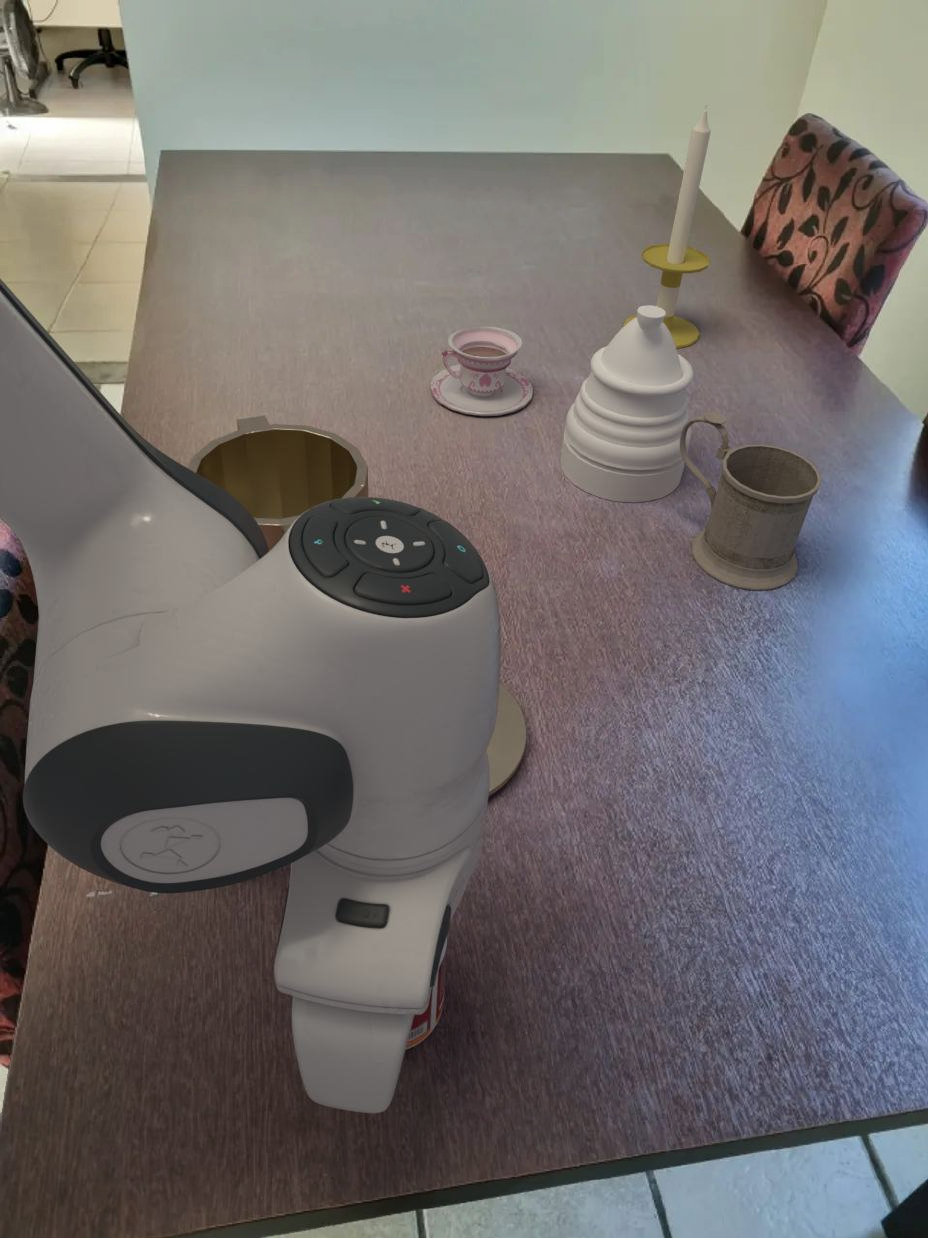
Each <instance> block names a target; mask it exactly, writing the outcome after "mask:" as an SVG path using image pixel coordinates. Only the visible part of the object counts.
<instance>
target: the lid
mask: <svg viewBox="0 0 928 1238" xmlns="http://www.w3.org/2000/svg"><path fill="white" fill-rule="evenodd" d="M526 745H527V724H526V720H525V716H524V713H523V710H522V709H521V706H520V704H519V702H518V701H517V699H516V698H515V696H514V695H513V694H512V692H511V691H510V690H509V689H508V688H507V686H505V685H504V684H503V683H501V682H500V687H499V699H498V711H497V720H496V725H495V730H494V733H493V736H492V738H491V741H490V743H489V746H488V747H487V749H486V751H487V754H488V759H489V765H490V786H489V794H488V798H489V797H490V796H491V795H493V794H495V793H496V792H497V791H499V790H500V789H501V788H503V787H504V785H505V784H507V783H508V782H509V780H511V778H512V777H513V776H514V775H515V773H516V771H517V770H518V768H519V766H520V765H521V762H522V760H523V758H524V754H525V750H526Z"/></svg>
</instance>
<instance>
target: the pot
mask: <svg viewBox="0 0 928 1238" xmlns="http://www.w3.org/2000/svg"><path fill="white" fill-rule="evenodd" d="M236 427H237V430H235V431H233V432H230V433H228V434H225V435H222V436H220V437H218V438H215V439H212V440H211V441H210V442H208V443H207V444H206V445H204V446H203V447H202V448H201V449H200V450H198V451H197V452H195V454H194V455H192V457H191V458H190V461H189V463H188V465H187V468H188V469H190V470H192V471H193V472H195V473H197V474H199V475H200V476H202V477H204V478H206V479H207V480H209V481H211V482H212V483H214V484H215V485H217V486H219V487H220V488H222V489H223V490H225V491H226V492H227V493H229V494H230V495H231V496H233V497H234V498H235V499H236V500H237V501H239V502H240V503H241V504H242V505H243V506H244V507H245V508H246V509H247V510H248V511H249V513H250V514H251V515H252V516H253V518H254V519H255V520H256V522H257V523H258V525H259V527H260V528H261V530H262V532H263V534H264V536H265V539H266V542H267V545H268V548H269V551H270V550H271V549H272V548H273V547H274V546H275V545H276V544H277V543H278V542H279V541H280V540H281V538H282V537H283V535H284V534H285V533H286V531H287V530H288V529H289V527H290V526H291V525H292V523H293V522H294V521H295V520H296V519H297V518H298V517H299V516H300V515H302V514H303V513H304V512H306V511H307V510H309V509H311V508H312V507H314V506H317V505H319V504H321V503H324V502H327V501H331V500H335V499H341V498H349V497H369V466H368V463H367V461H366V460H365V458H364V457H363V455H362V453H361V451H360V449H359V448H358V446H355V445H354V444H352V443H351V442H350V441H347V439H345V438H343V437H342V436H341V435H339V434H337V433H335V432H332V431H327V430H324V429H321V428H317V427H314V426H310V425H306V424H305V425H302V424H285V423H284V424H282V423H271V424H270V423H269V421H268V418H267V417H266V415H257V416H252V417H245V418H239V419H236Z"/></svg>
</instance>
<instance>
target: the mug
mask: <svg viewBox="0 0 928 1238" xmlns="http://www.w3.org/2000/svg"><path fill="white" fill-rule="evenodd" d="M726 422H728V417H727V416H726V415H724V414H723V413H719V412H717V411H716V412H715V411H709V412H706V413H704V415H703V416H702V415H697V416H693V417H691V418H689V420H688V421H687V422H686V423H685V425H684V426H683V428H682V431H681V436H680V451H681V455H682V458H683V460H684V462H685V465H686V467H687V468H688V469H689V471H690V472H691V473H692V474H693V475H694V476H695V477H696V478H697V479H698V480H699V481H700V482H701V483H702V485H703V486H704V488H705V491H706V493H707V495H708V499H709V501H710V506H711V507H710V509H711V510H710V514H709V518H708V521H707V525H706V527H705V528H704V529H702V530H701V531H699V532H698V533H696V535H695V537H694V538H693V540H692V542H691V555H692V557H693V559H694V561H695V562H696V565H697V566H698V567H699V568H700V569H702V571H704V572H705V574H707V575H708V576H710V577H712V578H713V579H715V580H716V581H718V582H720V583H722V584H725V585H728V586H730V587H733V588H736V589H742V590H748V591H755V592H756V591H757V592H758V591H769V590H770V591H771V590H775V589H778V588H782V587H784V586H786V585H787V584H788V583H790V582H791V581H793V580H794V579H795V576H796V574H797V572H798V569H799V563H798V558H797V557H798V556H797V555H796V554H795V547H796V545H797V542H798V539H799V536H800V534H801V531H802V528H803V526H804V523H805V520H806V518H807V515H808V511H809V509H810V506H811V503H812V501H813V499H814V496H815V495H817V493H818V491H819V489H820V486H821V483H822V478H821V473H820V471H819V470H818V469H817V467H816V466H815V465H814V463H812V461H809V460H808V459H807V458H806V457H805V456H802V455H801V454H799V453H797V452H795V451H792V450H790V449H786V448H783V447H779V446H777V445H769V444H762V443H761V444H745V445H741V446H736V447H734V448H732V447H730V446H729V441H730V440H729V436H728V431H727V430H726V428H725V426H724V425H723V424H725V423H726ZM695 423H706V424H709V425H710V426H713V427H714V428H715V429H716V430H717V431H718V433H719V434H720V436H721V442H722V443H721V445H719V446H718V447H717V450H716V454H715V458H717V459H718V460H719V459H720V461H722V462H721V474H720V479H719V482H718V485H717V489H715V486H713V485H712V483H711V482H710V481H709V479H708V478H707V477H706V475H704V474H703V473H702V472H701V470H699V468H697V467H696V465H695V464H694V463H693V461H692V460H691V458H690V456H689V453H688V452H687V451H686V434H687V431H688V428H689V427H690V426H691V427H692V425H693V424H695Z"/></svg>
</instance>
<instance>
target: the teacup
mask: <svg viewBox="0 0 928 1238" xmlns="http://www.w3.org/2000/svg"><path fill="white" fill-rule="evenodd" d="M447 344H448V347H449V348H450V349H451V350H447V349H445V350H444V351H442V352H441V356H442V362H443V365H444V367H445V369H441V370H440V371H439V372H437V374H435V375H434V376H433V377H432V379H431V382H430V384H429V389H430V392H431V395H432V397H433V398H434V399H435V400H436V401H437V402H438V403H439V404H440V405H442V406H444V407H446V408H447V409H449V410H452V411H455V412H457V413H460V414H464V415H470V416H479V417H499V416H504V415H509V414H512V413H515V412H518V411H519V410H521V409H523V408H525V407H526V406H527V405H528V404H529V403H531V401H532V399H533V395H534V388H533V386H532V385H533V384H531V381H530V380H529V379H528V378H527V377H525V376H524V375H523V374H522V373H519V372H518V371H516V370H514V369H512V368H510V367H509V366H510V365H511V363H512V360H513V359H514V358H515V357H516V355H517V354H518V353H519V351H520V350H521V348H522V347H523V340H522V338H521V337H520V336H519V335H518V334H516V333H515V332H514V331H511V330H508V329H505V328H503V327H496V326H484V325H483V326H482V325H481V326H478V325H477V326H470V327H465V328H461V329H458V330H455V331H454V332H453V333H451V334H450V335H449V336H448V338H447ZM450 357H453V358H456V360H457V361H458V363H459V364H454V365H451V366H449V363H448V358H450Z"/></svg>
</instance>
